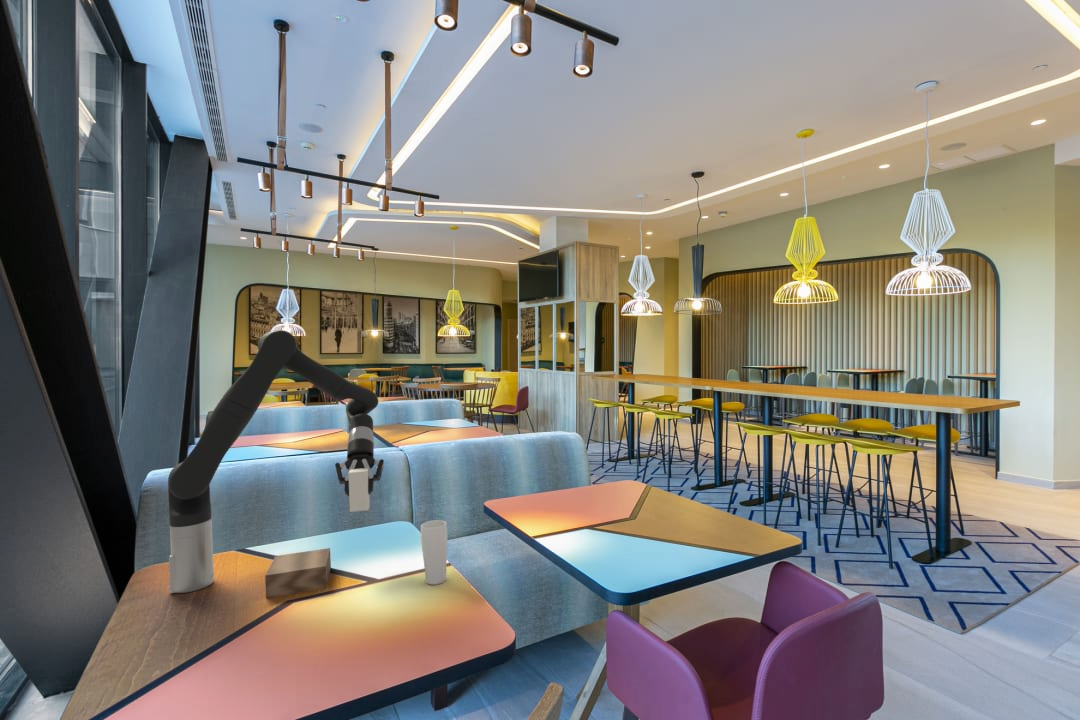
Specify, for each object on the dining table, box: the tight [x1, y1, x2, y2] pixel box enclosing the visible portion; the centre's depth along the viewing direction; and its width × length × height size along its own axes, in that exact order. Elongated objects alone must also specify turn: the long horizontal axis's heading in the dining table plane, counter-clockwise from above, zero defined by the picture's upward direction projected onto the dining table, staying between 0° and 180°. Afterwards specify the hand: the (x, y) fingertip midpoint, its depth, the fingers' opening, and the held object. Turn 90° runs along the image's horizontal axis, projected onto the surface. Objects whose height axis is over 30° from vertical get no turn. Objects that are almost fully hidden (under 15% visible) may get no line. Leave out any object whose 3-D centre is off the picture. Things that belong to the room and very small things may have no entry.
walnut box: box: [264, 547, 332, 599], centre depth 134 cm, size 14×14×6 cm
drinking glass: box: [420, 519, 448, 586], centre depth 130 cm, size 7×7×15 cm
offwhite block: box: [348, 468, 371, 513], centre depth 143 cm, size 5×5×11 cm
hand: (359, 493), depth 141 cm, fingers closed on offwhite block, 5 cm apart
